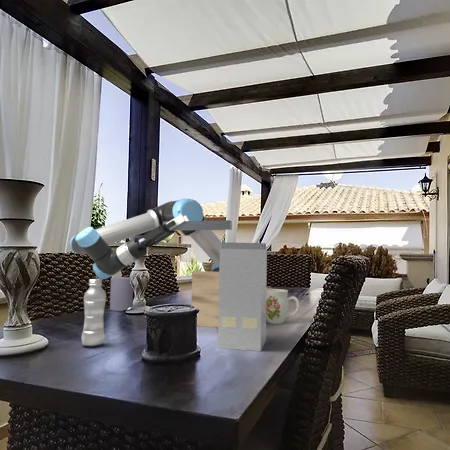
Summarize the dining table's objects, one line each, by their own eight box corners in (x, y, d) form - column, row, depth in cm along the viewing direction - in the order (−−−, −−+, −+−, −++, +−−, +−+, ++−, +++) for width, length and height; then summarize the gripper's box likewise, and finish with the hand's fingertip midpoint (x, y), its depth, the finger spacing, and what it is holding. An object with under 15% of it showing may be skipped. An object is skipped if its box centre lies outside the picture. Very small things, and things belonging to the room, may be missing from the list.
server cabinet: (227, 338, 127) (228, 243, 129) (265, 340, 124) (266, 243, 126) (217, 348, 114) (219, 242, 116) (260, 351, 111) (261, 242, 113)
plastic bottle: (80, 344, 116) (83, 278, 117) (103, 342, 119) (105, 278, 120) (81, 349, 110) (84, 280, 111) (105, 347, 113) (108, 280, 114)
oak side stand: (197, 321, 155) (198, 271, 157) (240, 323, 151) (241, 272, 153) (191, 325, 147) (192, 272, 148) (236, 328, 143) (237, 273, 144)
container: (118, 312, 173) (120, 279, 174) (105, 309, 179) (106, 278, 180) (136, 309, 181) (137, 278, 182) (123, 307, 187) (124, 277, 188)
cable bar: (167, 230, 137) (167, 222, 137) (231, 229, 132) (231, 221, 132) (162, 230, 133) (163, 221, 133) (229, 229, 128) (229, 220, 128)
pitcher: (296, 327, 147) (297, 291, 148) (252, 322, 154) (253, 288, 154) (301, 322, 157) (301, 288, 158) (260, 318, 164) (260, 286, 165)
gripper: (146, 259, 145) (197, 228, 141) (126, 260, 128) (182, 225, 125) (138, 242, 146) (188, 211, 143) (116, 241, 129) (172, 206, 126)
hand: (185, 217), depth 134 cm, fingers closed on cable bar, 4 cm apart
